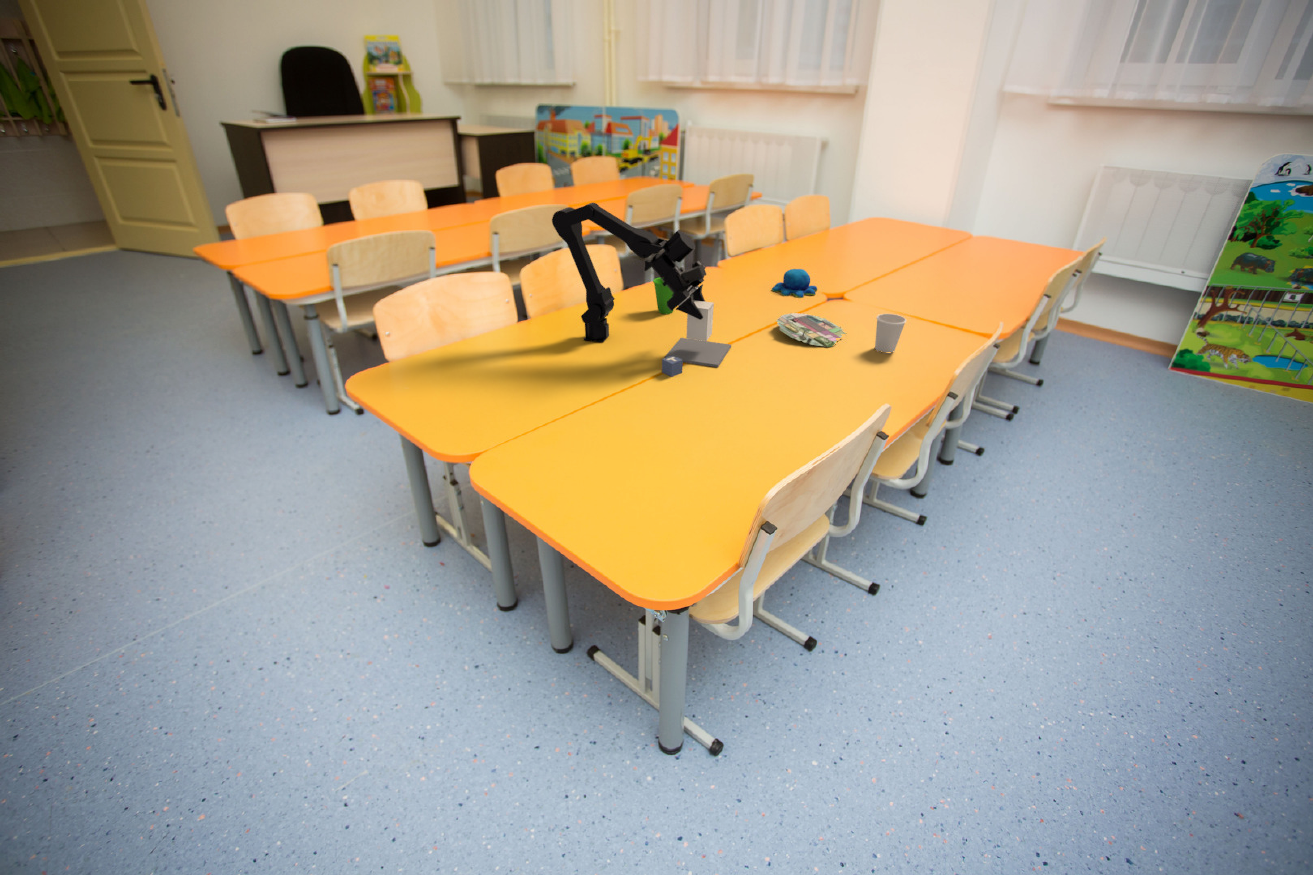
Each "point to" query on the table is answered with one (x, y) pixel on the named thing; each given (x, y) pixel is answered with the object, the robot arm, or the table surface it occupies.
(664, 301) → the cup
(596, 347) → the table surface
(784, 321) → the city model
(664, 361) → the letter cube
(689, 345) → the mat
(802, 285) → the plush toy
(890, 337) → the dixie cup
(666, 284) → the robot arm
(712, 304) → the white tall block
